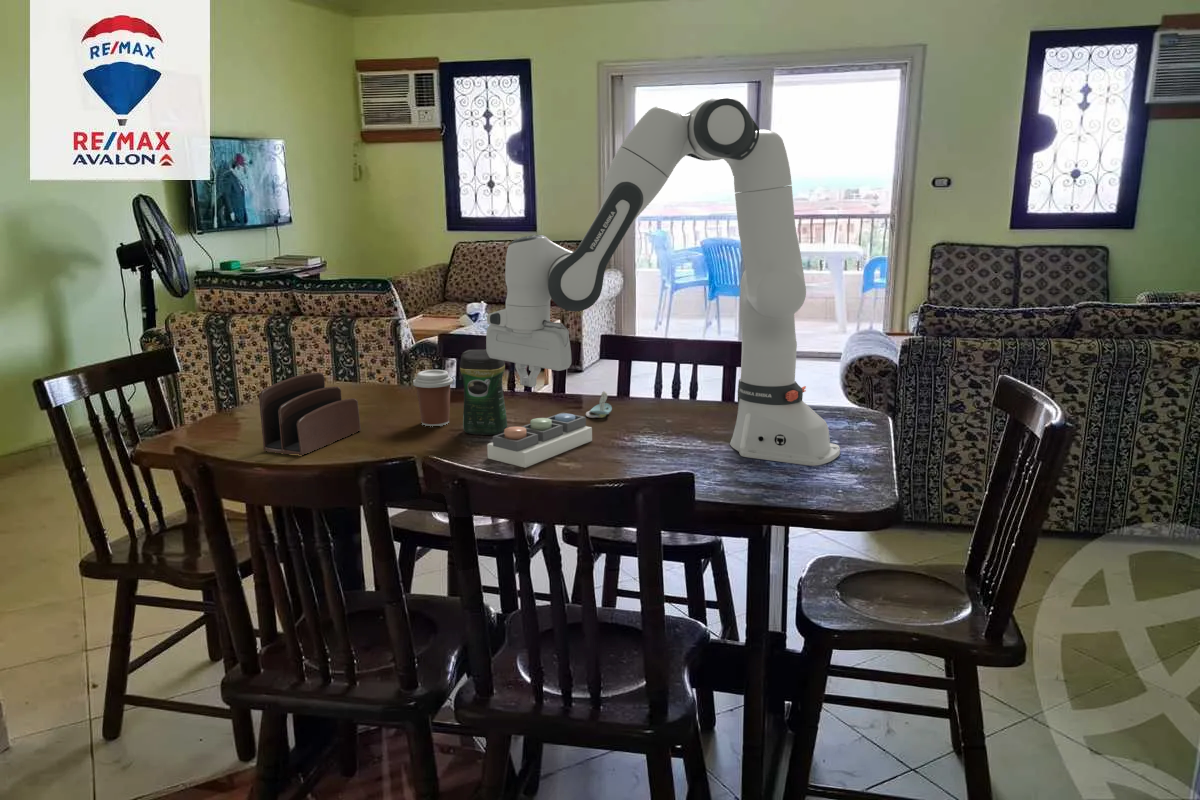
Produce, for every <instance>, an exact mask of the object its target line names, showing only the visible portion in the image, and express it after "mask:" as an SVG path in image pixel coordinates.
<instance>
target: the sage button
mask: <svg viewBox="0 0 1200 800" xmlns="http://www.w3.org/2000/svg"><path fill="white" fill-rule="evenodd" d="M529 424H531V429H535V430H539V431H545V430H548V429H550V428H552V420H551V419H548V417H537V418H532V419H530V423H529Z"/></svg>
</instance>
